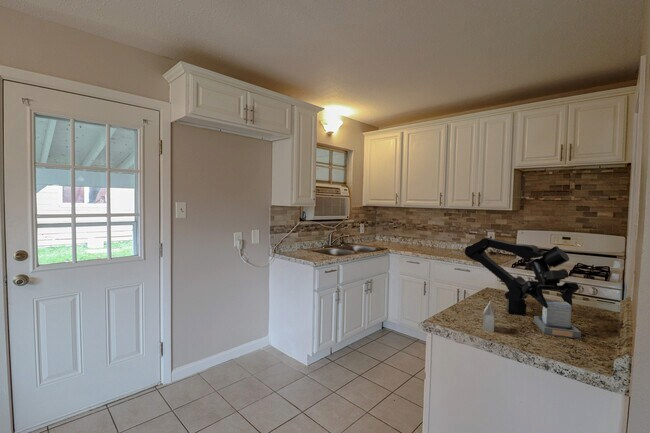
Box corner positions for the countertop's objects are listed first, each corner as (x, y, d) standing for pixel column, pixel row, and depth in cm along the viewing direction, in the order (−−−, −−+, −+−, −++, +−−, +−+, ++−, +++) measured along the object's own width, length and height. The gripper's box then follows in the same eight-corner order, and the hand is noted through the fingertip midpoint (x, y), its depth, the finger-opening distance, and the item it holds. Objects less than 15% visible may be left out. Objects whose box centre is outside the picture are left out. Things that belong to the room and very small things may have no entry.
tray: (544, 334, 116) (544, 328, 115) (533, 321, 128) (534, 315, 128) (580, 339, 112) (581, 332, 112) (566, 325, 124) (566, 319, 124)
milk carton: (482, 330, 119) (483, 304, 119) (483, 324, 125) (484, 299, 124) (493, 332, 117) (494, 305, 117) (494, 326, 123) (495, 301, 123)
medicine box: (565, 324, 121) (566, 301, 121) (570, 328, 117) (571, 305, 116) (541, 321, 124) (542, 299, 123) (545, 325, 119) (547, 302, 119)
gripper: (527, 260, 124) (542, 296, 113) (577, 262, 122) (598, 299, 112) (515, 275, 132) (529, 310, 121) (562, 277, 130) (580, 312, 120)
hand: (558, 308), depth 118 cm, fingers closed on medicine box, 8 cm apart
